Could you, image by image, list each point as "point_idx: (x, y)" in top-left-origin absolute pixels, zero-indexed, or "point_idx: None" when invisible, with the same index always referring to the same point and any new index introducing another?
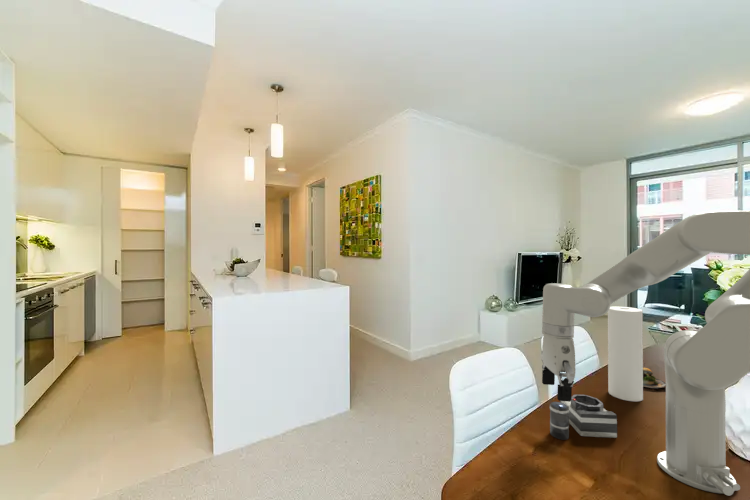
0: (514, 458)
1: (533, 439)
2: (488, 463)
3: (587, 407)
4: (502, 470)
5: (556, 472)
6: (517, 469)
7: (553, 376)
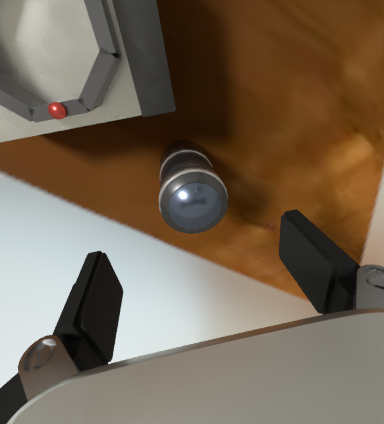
0: None
1: None
2: None
3: (116, 57)
4: None
5: (326, 198)
6: None
7: (93, 294)
